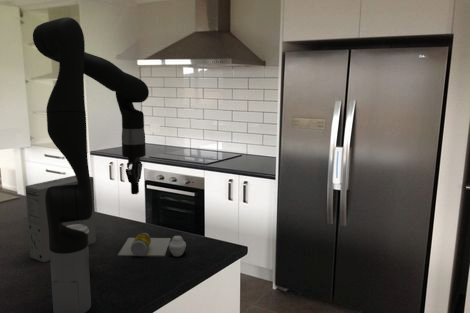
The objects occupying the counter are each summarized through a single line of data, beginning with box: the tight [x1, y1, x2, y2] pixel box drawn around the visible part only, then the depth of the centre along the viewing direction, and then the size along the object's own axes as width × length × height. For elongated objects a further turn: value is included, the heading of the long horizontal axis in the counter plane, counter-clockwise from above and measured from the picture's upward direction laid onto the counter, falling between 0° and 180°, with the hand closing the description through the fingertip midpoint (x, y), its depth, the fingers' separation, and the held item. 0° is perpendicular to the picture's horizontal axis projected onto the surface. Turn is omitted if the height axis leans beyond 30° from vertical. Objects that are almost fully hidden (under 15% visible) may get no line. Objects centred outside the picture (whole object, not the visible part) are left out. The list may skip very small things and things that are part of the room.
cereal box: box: [25, 174, 97, 263], centre depth 145 cm, size 22×8×25 cm, turn 149°
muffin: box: [168, 235, 187, 257], centre depth 144 cm, size 6×6×7 cm
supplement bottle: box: [131, 232, 151, 257], centre depth 146 cm, size 6×6×10 cm
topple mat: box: [117, 237, 172, 257], centre depth 150 cm, size 16×16×1 cm
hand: (135, 193), depth 138 cm, fingers closed
